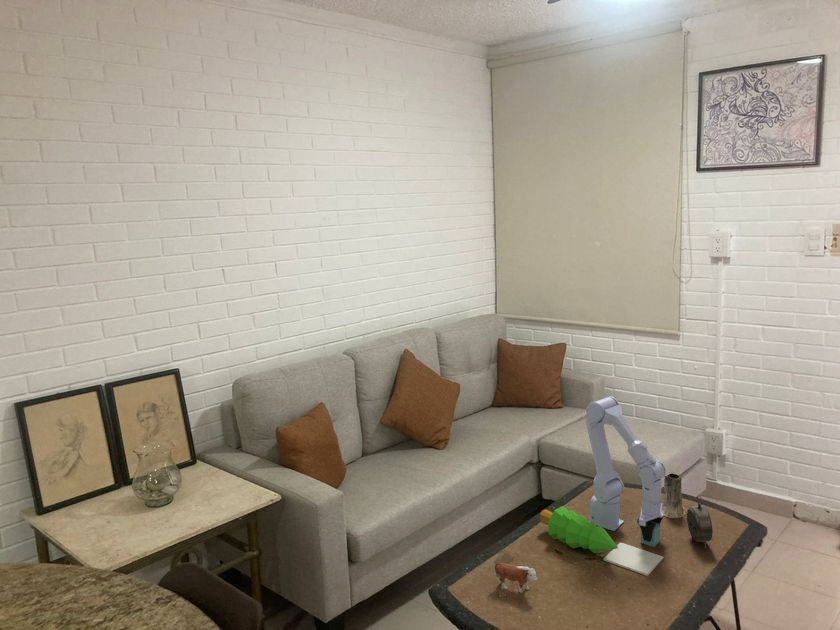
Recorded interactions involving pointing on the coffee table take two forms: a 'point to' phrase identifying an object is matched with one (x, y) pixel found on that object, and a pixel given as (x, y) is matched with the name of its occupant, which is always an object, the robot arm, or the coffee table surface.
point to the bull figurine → (515, 574)
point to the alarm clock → (699, 523)
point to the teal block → (653, 536)
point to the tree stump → (673, 497)
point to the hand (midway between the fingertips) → (650, 537)
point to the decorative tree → (576, 530)
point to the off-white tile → (633, 559)
